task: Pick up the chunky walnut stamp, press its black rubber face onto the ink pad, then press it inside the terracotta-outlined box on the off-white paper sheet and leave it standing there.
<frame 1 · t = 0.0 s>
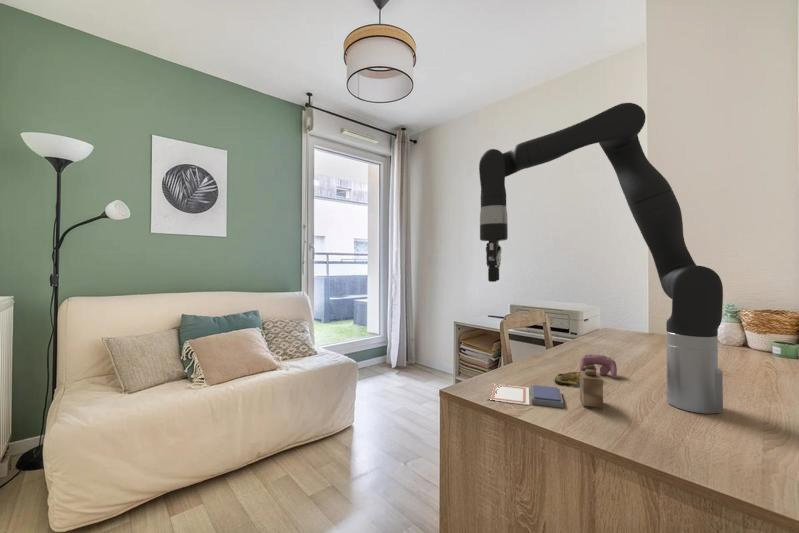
hand: (494, 281, 96), 29 cm above the table, tool pointing down, fingers open, 8 cm apart
ink pad: (546, 398, 86), on the table
video game controller: (597, 375, 105), on the table
stamp: (591, 403, 83), on the table
paper sheet: (508, 393, 89), on the table
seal: (576, 382, 99), on the table
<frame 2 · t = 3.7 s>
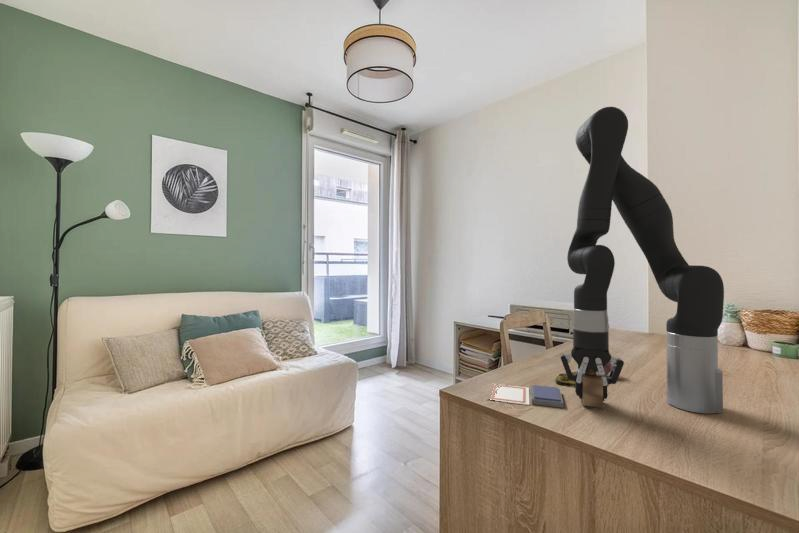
hand: (590, 398, 83), 1 cm above the table, tool pointing down, fingers closed on stamp, 4 cm apart
stamp: (591, 403, 83), on the table, touching gripper
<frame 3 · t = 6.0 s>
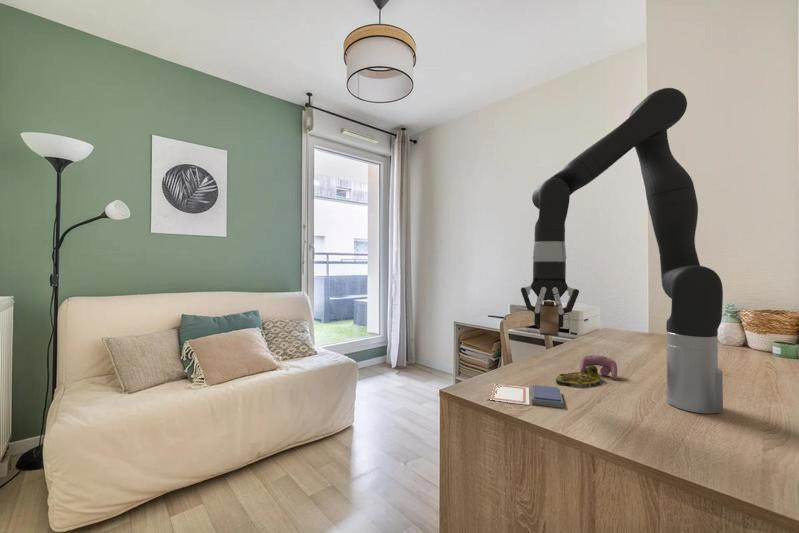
hand: (548, 328, 86), 18 cm above the table, tool pointing down, fingers closed on stamp, 4 cm apart
stamp: (548, 333, 86), point 16 cm above the table, touching gripper
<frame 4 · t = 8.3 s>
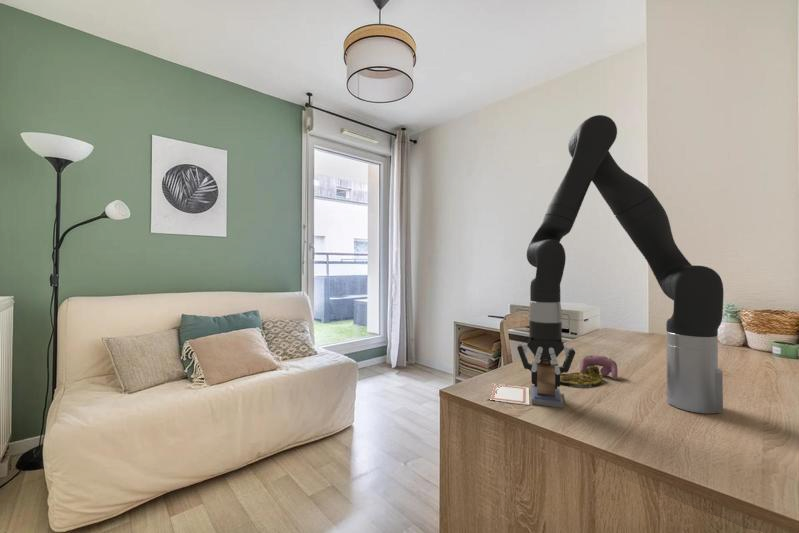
hand: (545, 386, 86), 3 cm above the table, tool pointing down, fingers closed on stamp, 4 cm apart
stamp: (545, 391, 86), point 2 cm above the table, touching gripper, ink pad
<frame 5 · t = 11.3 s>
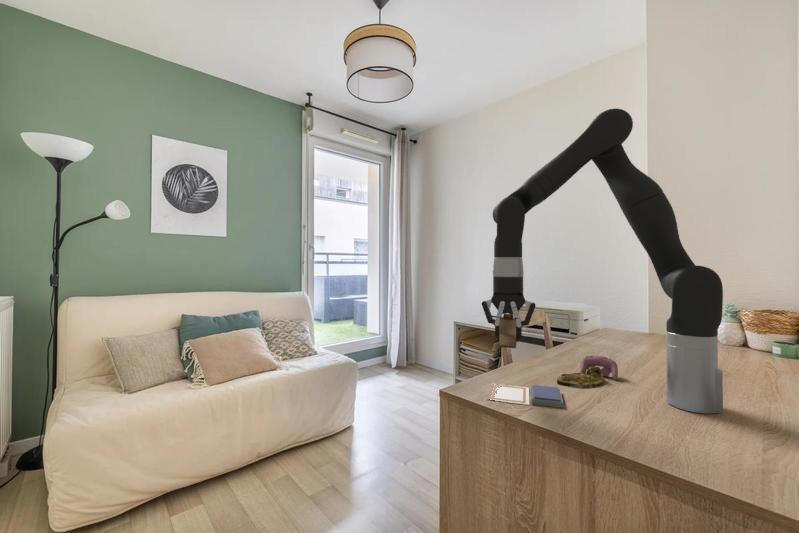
hand: (508, 340, 89), 14 cm above the table, tool pointing down, fingers closed on stamp, 4 cm apart
stamp: (508, 345, 89), point 13 cm above the table, touching gripper
when the fingers open (2 cm above the table, at t = 13.3 s): stamp stays where it is, resting on paper sheet.
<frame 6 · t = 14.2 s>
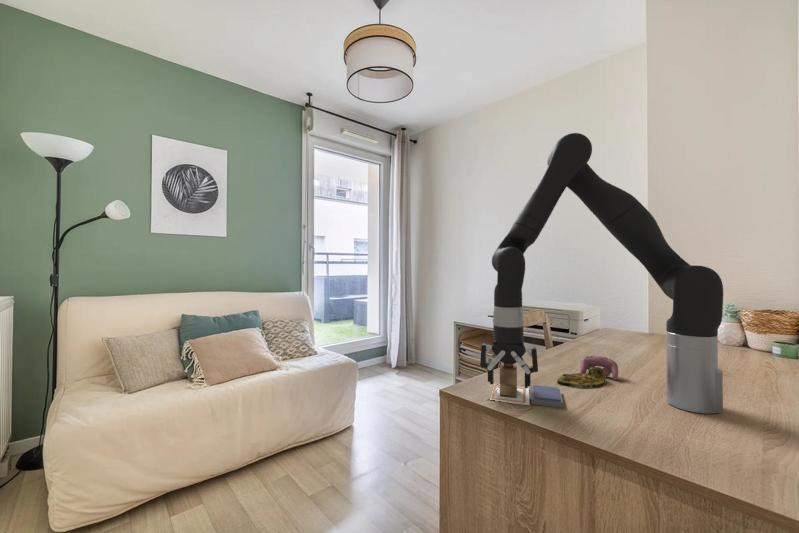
hand: (508, 385, 89), 2 cm above the table, tool pointing down, fingers open, 8 cm apart
stamp: (508, 393, 89), resting on paper sheet
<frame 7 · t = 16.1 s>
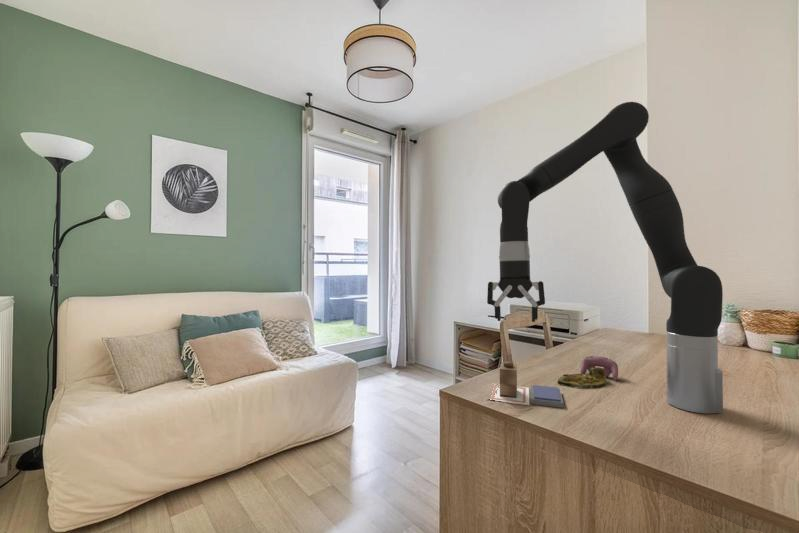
hand: (515, 321, 90), 19 cm above the table, tool pointing down, fingers open, 8 cm apart
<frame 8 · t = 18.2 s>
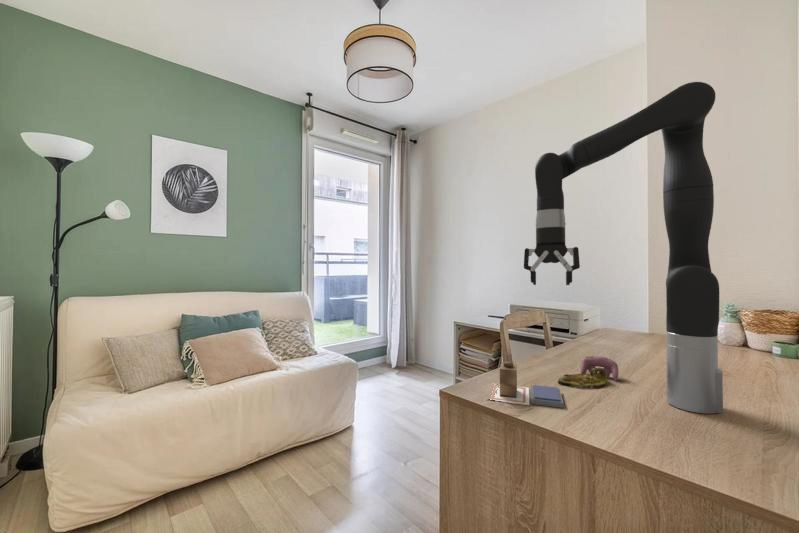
hand: (550, 284, 96), 28 cm above the table, tool pointing down, fingers open, 8 cm apart
at the end: stamp 0.1 cm off-centre on the paper sheet, point 0.2 cm above the paper sheet's base; stamp tilted 0°; the gripper is holding nothing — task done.
